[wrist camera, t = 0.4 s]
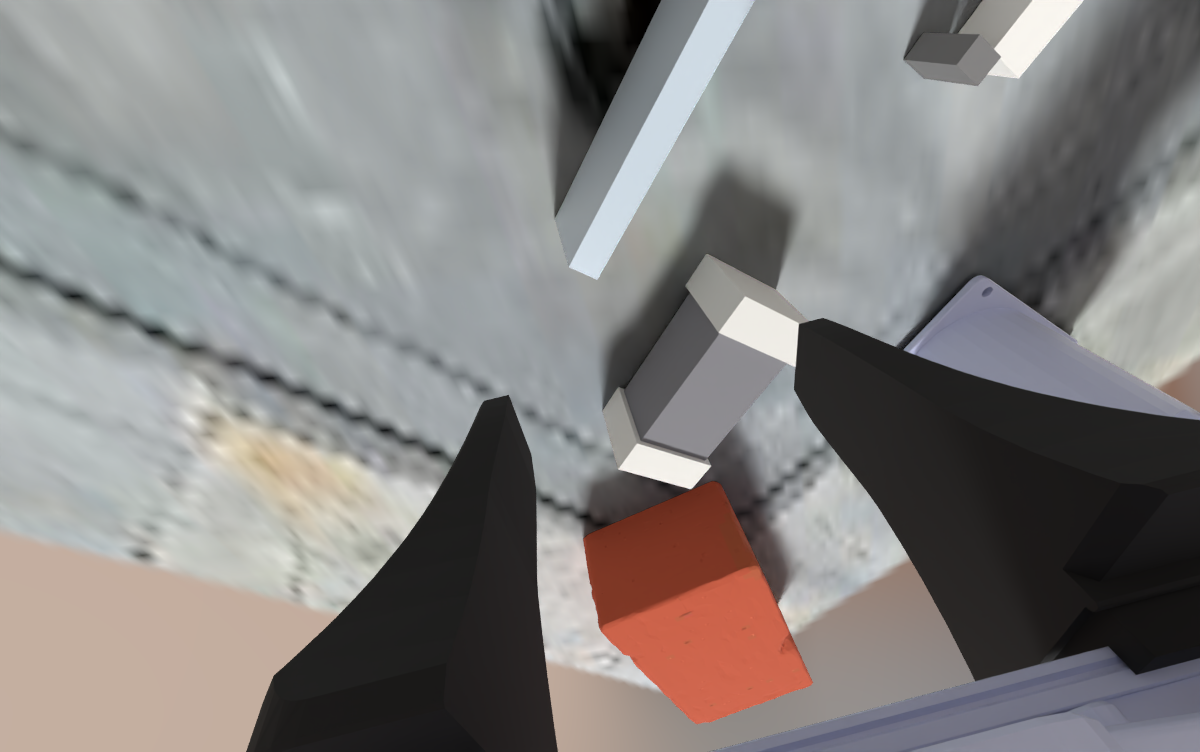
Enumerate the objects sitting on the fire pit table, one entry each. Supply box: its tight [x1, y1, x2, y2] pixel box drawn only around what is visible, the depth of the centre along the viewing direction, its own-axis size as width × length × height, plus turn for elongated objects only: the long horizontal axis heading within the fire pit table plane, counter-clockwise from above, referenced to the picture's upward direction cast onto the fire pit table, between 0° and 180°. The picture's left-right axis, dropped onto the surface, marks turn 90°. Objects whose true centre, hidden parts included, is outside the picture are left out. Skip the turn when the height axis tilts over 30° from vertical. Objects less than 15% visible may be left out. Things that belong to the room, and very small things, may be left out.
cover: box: [555, 0, 755, 280], centre depth 14 cm, size 10×2×5 cm, turn 151°
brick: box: [583, 481, 813, 724], centre depth 33 cm, size 18×9×6 cm, turn 25°
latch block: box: [904, 33, 1001, 86], centre depth 16 cm, size 1×1×2 cm
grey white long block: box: [603, 253, 809, 489], centre depth 22 cm, size 4×9×4 cm, turn 151°
